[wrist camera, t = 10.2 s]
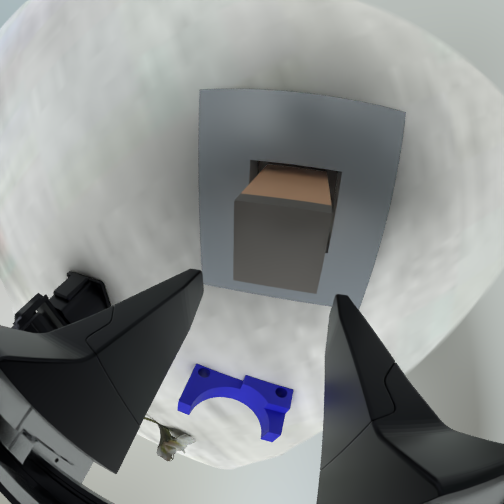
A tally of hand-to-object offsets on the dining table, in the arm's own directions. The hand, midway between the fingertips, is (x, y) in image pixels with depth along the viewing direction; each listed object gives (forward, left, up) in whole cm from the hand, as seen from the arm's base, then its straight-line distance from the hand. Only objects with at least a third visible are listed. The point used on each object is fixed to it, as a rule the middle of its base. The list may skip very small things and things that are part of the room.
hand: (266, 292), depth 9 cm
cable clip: (-24, +3, -11) cm, 27 cm away
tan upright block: (0, 0, -11) cm, 11 cm away
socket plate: (0, 0, -11) cm, 11 cm away
